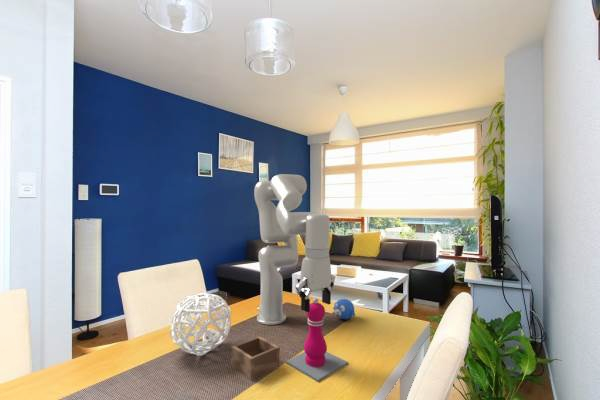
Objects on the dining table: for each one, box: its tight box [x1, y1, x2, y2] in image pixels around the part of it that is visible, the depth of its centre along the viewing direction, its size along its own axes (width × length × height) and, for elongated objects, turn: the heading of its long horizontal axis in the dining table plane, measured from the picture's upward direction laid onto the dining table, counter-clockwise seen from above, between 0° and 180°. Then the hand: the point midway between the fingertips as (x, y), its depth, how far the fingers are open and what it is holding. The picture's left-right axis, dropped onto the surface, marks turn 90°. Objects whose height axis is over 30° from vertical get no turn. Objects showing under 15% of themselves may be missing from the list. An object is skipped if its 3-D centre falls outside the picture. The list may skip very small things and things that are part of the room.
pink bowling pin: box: [303, 297, 328, 367], centre depth 96 cm, size 7×7×20 cm
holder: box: [230, 336, 281, 381], centre depth 95 cm, size 11×11×6 cm
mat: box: [285, 351, 349, 382], centre depth 96 cm, size 14×14×1 cm
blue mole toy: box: [331, 298, 356, 320], centre depth 132 cm, size 12×12×8 cm
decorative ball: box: [169, 292, 232, 357], centre depth 104 cm, size 20×20×19 cm
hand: (316, 306), depth 97 cm, fingers open, 9 cm apart
